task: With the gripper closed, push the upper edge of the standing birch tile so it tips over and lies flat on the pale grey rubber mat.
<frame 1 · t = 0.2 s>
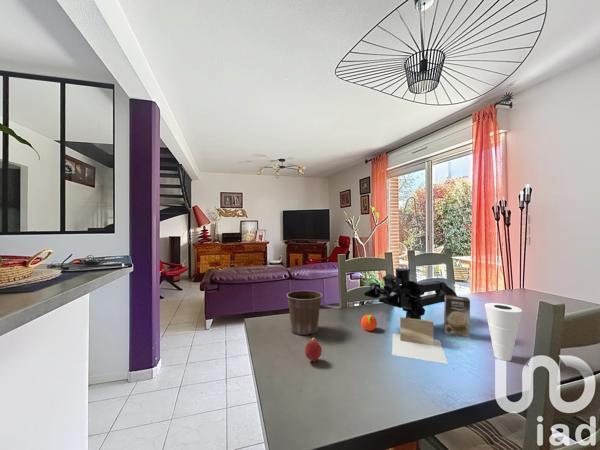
hand: (371, 297, 113), 16 cm above the table, tool horizontal, fingers open, 9 cm apart
onion: (313, 361, 91), on the table
tile: (416, 342, 105), resting on mat
cup: (502, 358, 94), on the table
clementine: (369, 331, 118), on the table
coffee box: (456, 334, 114), on the table
plant pot: (304, 330, 119), on the table
mat: (417, 348, 101), on the table
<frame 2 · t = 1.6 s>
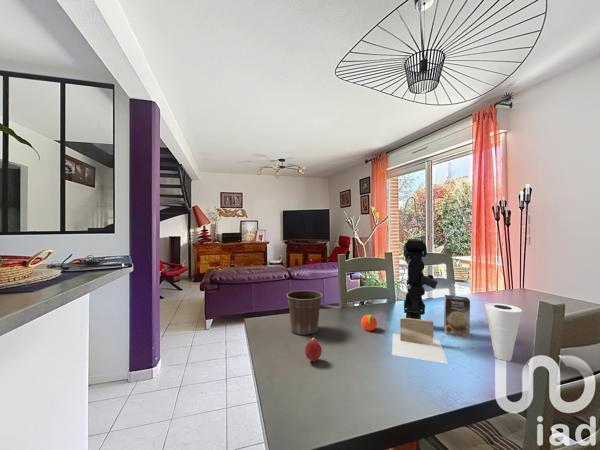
hand: (415, 306, 111), 13 cm above the table, tool pointing down, fingers open, 8 cm apart
nothing on the table moved.
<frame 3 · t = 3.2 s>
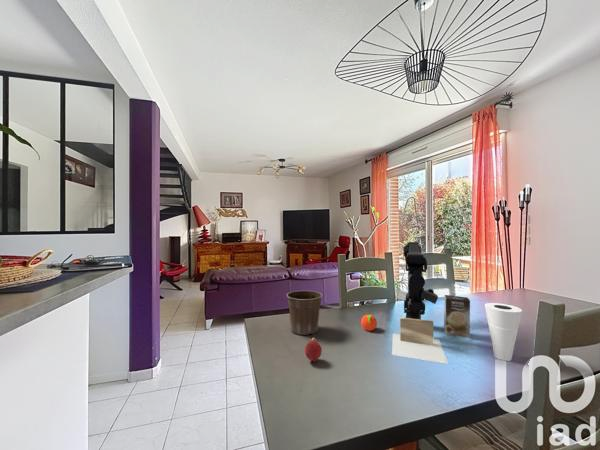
hand: (415, 320, 111), 7 cm above the table, tool pointing down, fingers closed
nothing on the table moved.
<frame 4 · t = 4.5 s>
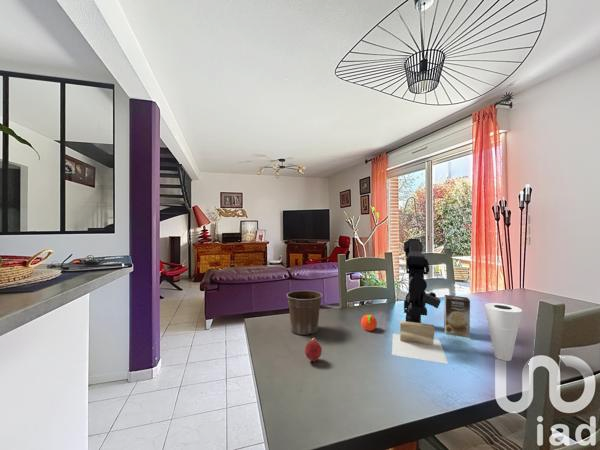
hand: (416, 325, 105), 7 cm above the table, tool pointing down, fingers closed
tile: (416, 341, 105), point 1 cm above the table, tilted 25°, touching mat
everything else where it was.
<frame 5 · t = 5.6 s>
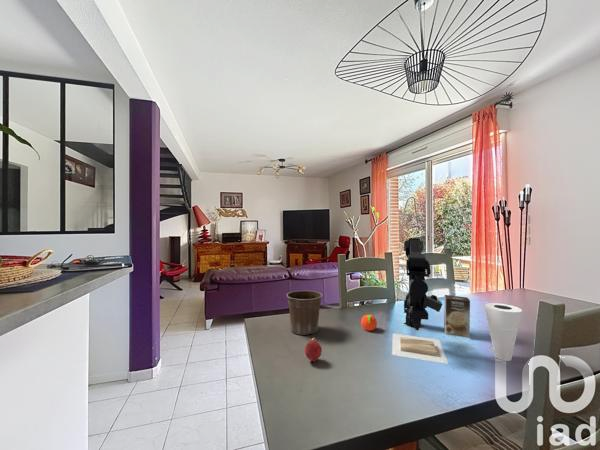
hand: (417, 329, 101), 7 cm above the table, tool pointing down, fingers closed
tile: (416, 341, 104), point 1 cm above the table, tilted 90°, touching mat
everything else where it was.
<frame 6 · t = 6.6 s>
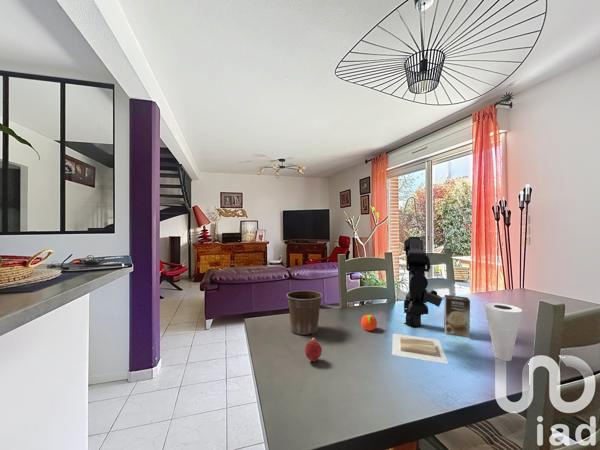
hand: (416, 324, 101), 9 cm above the table, tool pointing down, fingers closed
nothing on the table moved.
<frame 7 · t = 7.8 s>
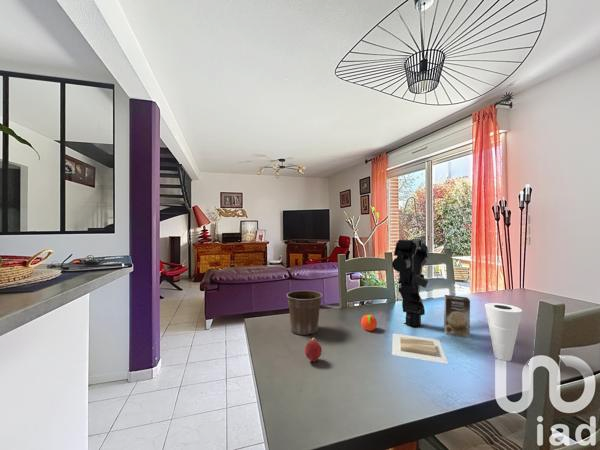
hand: (406, 304, 114), 13 cm above the table, tool pointing down, fingers closed
nothing on the table moved.
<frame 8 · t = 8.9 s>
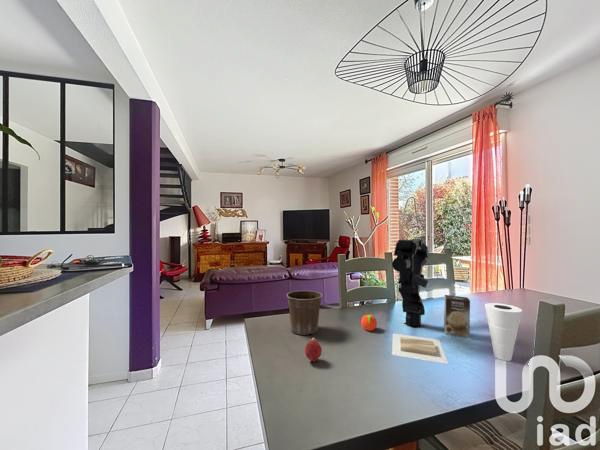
hand: (406, 304, 114), 13 cm above the table, tool pointing down, fingers closed
nothing on the table moved.
at the end: tile tilted 90°; tile inside the target area on the mat (3.3 cm from its centre), point 1.3 cm above the mat's base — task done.
